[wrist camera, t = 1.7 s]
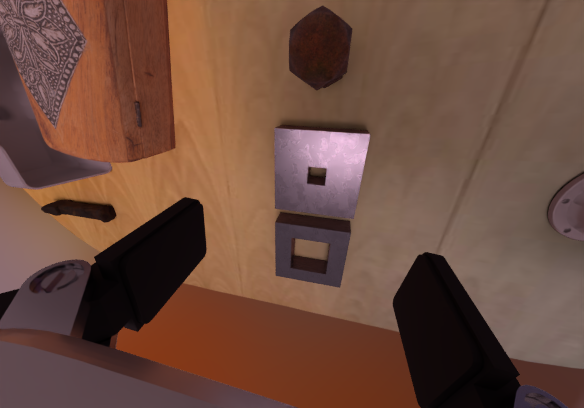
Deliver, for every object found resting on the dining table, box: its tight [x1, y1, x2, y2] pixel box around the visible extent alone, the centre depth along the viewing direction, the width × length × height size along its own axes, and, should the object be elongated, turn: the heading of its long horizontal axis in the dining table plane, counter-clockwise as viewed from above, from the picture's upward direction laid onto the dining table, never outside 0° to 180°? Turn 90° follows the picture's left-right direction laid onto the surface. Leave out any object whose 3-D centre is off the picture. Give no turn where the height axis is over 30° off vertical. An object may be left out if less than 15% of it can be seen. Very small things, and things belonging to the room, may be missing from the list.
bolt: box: [289, 6, 352, 90], centre depth 24 cm, size 6×5×15 cm
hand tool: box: [41, 200, 116, 222], centre depth 53 cm, size 19×4×5 cm, turn 85°
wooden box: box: [0, 0, 175, 163], centre depth 29 cm, size 30×16×14 cm, turn 166°
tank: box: [0, 26, 112, 189], centre depth 38 cm, size 25×16×12 cm, turn 0°
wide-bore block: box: [275, 212, 351, 287], centre depth 44 cm, size 14×14×4 cm
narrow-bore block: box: [275, 125, 370, 219], centre depth 36 cm, size 14×14×4 cm
